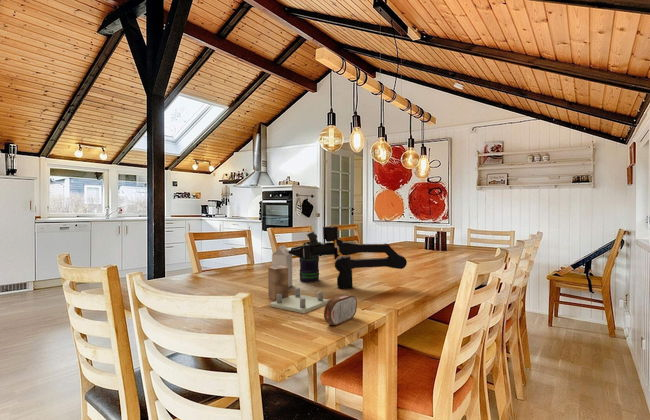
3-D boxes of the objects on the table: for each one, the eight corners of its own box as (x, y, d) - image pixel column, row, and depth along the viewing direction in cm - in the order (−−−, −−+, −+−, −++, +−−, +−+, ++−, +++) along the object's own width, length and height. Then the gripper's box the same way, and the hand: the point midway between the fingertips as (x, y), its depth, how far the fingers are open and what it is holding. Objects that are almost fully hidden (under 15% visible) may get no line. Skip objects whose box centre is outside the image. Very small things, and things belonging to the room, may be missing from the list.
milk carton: (272, 287, 163) (271, 246, 163) (278, 284, 170) (278, 244, 170) (286, 288, 161) (286, 246, 161) (292, 285, 168) (292, 244, 168)
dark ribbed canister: (316, 282, 173) (316, 251, 173) (297, 282, 175) (296, 251, 175) (321, 278, 183) (321, 249, 182) (302, 277, 185) (302, 248, 184)
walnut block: (281, 295, 150) (281, 265, 149) (288, 298, 144) (288, 267, 144) (268, 297, 146) (268, 266, 146) (274, 300, 141) (274, 269, 141)
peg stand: (296, 296, 147) (296, 286, 147) (329, 302, 138) (329, 291, 138) (269, 306, 134) (269, 295, 134) (304, 313, 125) (304, 301, 125)
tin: (351, 315, 123) (351, 290, 123) (358, 317, 121) (358, 292, 121) (323, 327, 111) (322, 300, 111) (331, 329, 109) (330, 301, 109)
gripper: (323, 230, 173) (291, 231, 173) (322, 233, 154) (286, 234, 155) (324, 253, 173) (292, 254, 173) (323, 259, 154) (287, 260, 155)
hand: (289, 250), depth 164 cm, fingers open, 9 cm apart
